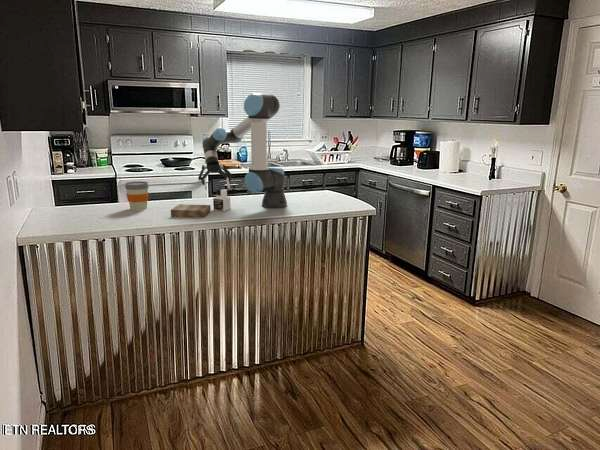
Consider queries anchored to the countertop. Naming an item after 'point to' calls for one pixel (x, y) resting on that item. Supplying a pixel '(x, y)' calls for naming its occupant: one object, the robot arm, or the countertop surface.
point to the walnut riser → (191, 211)
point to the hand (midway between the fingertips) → (217, 188)
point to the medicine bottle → (221, 200)
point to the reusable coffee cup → (137, 194)
